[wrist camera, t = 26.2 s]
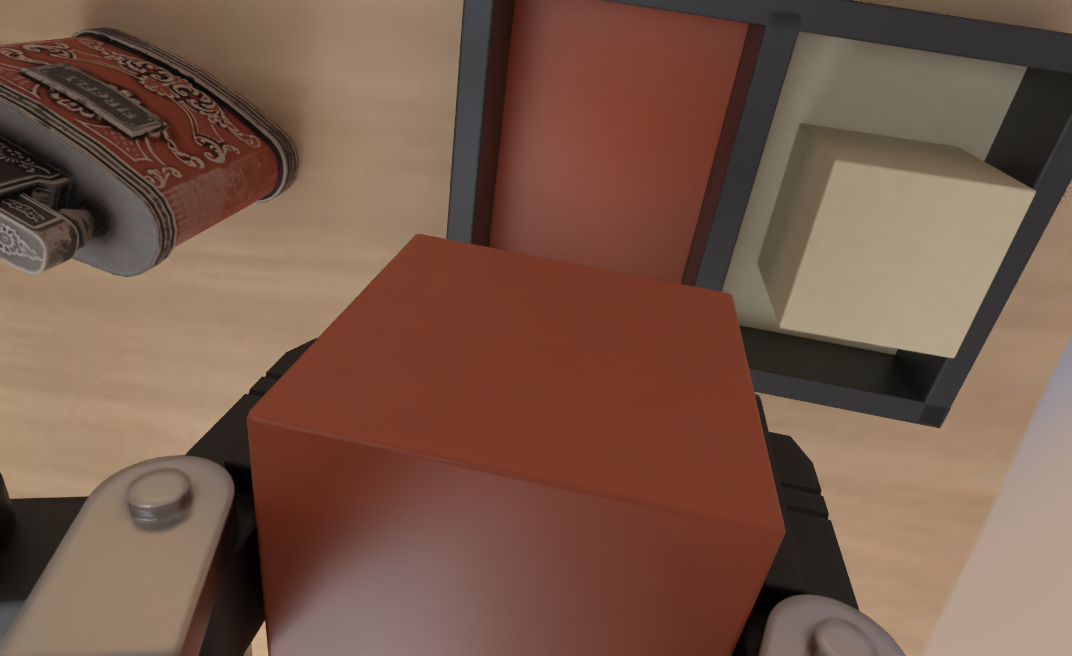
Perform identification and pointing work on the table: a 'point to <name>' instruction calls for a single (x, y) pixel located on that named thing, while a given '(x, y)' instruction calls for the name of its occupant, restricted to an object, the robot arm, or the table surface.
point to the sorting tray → (741, 150)
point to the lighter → (123, 153)
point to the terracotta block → (514, 467)
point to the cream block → (887, 239)
